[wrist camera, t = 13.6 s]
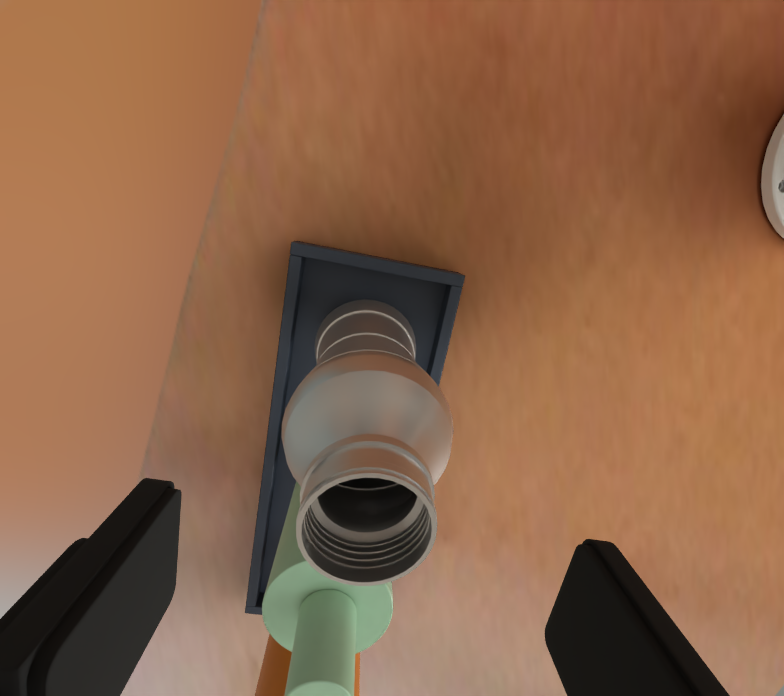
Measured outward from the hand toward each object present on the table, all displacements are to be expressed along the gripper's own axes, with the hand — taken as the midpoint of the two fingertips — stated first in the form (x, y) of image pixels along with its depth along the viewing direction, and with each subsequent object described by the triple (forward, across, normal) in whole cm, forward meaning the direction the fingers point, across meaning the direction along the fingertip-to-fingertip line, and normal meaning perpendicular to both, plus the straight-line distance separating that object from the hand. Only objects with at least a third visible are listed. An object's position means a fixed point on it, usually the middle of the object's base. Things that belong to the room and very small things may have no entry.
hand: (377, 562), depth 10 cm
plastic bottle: (+21, +1, 0) cm, 21 cm away
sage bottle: (+21, +1, +10) cm, 23 cm away
